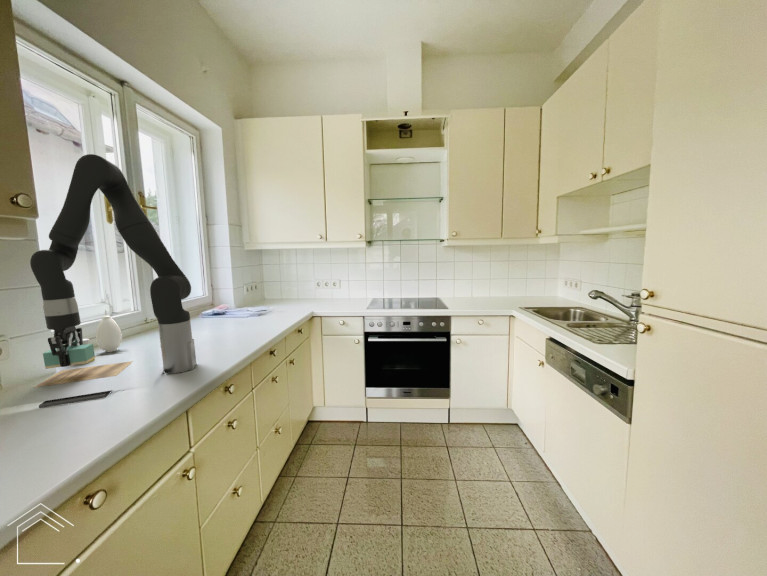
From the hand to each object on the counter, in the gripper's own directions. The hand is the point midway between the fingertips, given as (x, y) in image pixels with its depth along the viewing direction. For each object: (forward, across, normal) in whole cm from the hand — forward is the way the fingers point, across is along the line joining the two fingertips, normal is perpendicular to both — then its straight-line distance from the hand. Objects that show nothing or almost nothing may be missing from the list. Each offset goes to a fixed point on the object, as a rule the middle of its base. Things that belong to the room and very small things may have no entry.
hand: (71, 362), depth 99 cm
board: (+6, 0, -4) cm, 7 cm away
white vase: (+6, +31, +1) cm, 32 cm away
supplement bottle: (+6, +16, +3) cm, 17 cm away
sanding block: (0, 0, 0) cm, 0 cm away
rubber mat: (+6, -16, -8) cm, 19 cm away
